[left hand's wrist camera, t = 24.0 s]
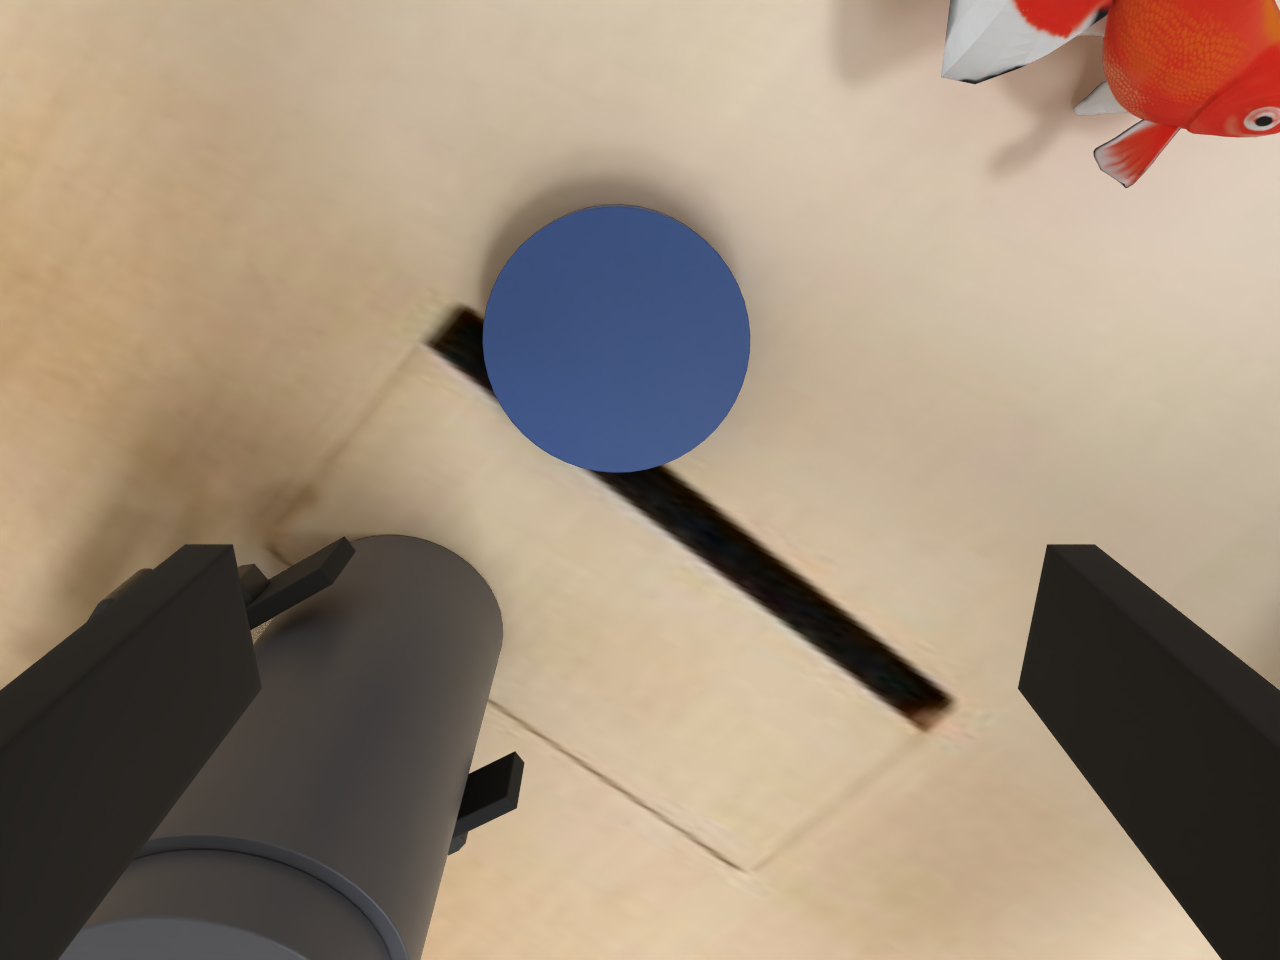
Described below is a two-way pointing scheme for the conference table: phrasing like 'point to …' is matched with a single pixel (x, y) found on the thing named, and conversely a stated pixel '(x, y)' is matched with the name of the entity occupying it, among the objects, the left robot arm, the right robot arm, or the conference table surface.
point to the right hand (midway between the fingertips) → (433, 675)
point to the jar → (325, 779)
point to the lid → (616, 338)
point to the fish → (1138, 64)
